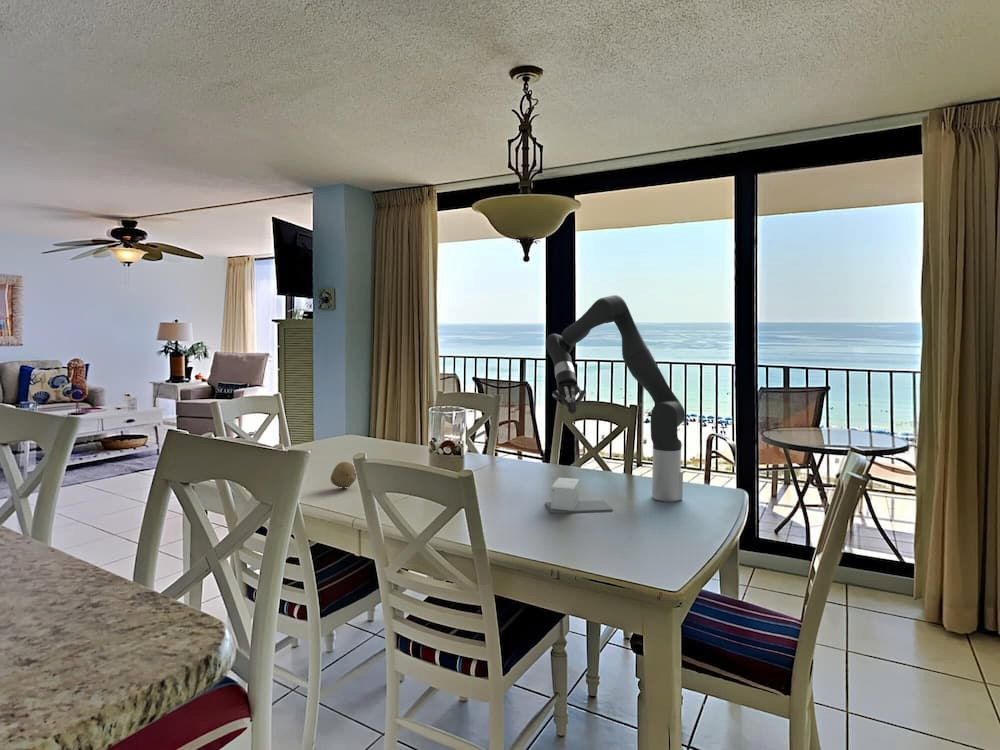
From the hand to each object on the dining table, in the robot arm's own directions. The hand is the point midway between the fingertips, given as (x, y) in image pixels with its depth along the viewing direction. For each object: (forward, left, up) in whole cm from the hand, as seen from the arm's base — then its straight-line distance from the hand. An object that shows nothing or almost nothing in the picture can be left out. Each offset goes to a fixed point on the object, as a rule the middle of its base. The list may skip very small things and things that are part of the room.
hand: (572, 412), depth 217 cm
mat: (+3, +24, -27) cm, 36 cm away
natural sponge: (+82, -8, -28) cm, 87 cm away
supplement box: (+5, +16, -23) cm, 29 cm away
